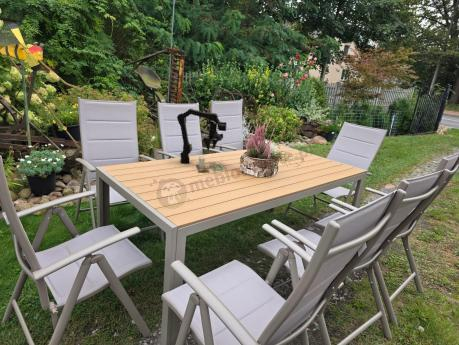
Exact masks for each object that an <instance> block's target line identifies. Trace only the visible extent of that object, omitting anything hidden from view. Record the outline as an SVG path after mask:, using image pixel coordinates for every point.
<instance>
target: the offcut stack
mask: <svg viewBox="0 0 459 345" xmlns="http://www.w3.org/2000/svg"><path fill="white" fill-rule="evenodd" d="M197 172H198V173H199V174H202V173H203V174H207V173H208V174H209V173H210V169H209V168H206V169H199V170H198V169H197Z"/></svg>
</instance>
